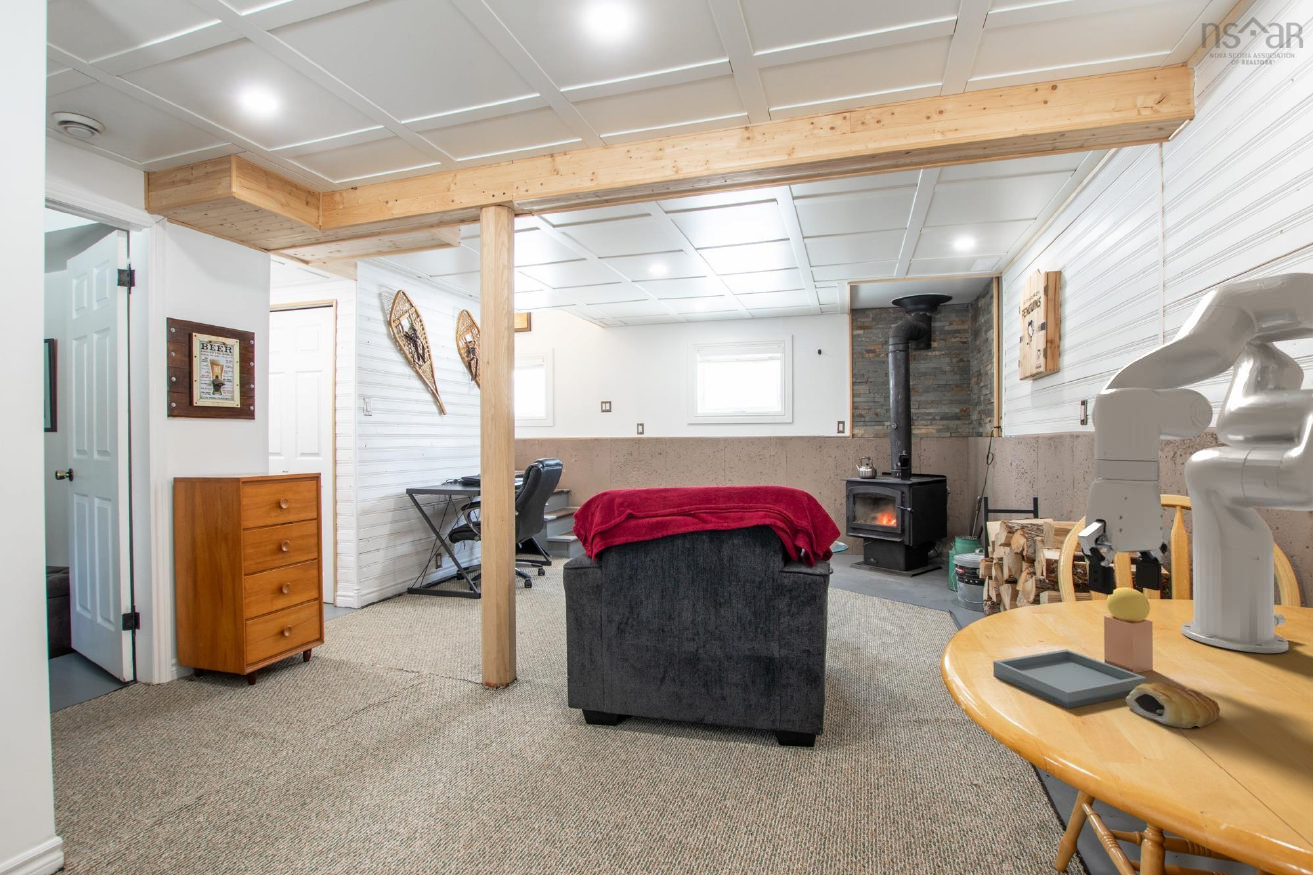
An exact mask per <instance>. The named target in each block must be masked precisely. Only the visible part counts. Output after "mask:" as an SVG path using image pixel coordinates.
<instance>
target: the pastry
mask: <svg viewBox="0 0 1313 875" xmlns="http://www.w3.org/2000/svg"><path fill="white" fill-rule="evenodd" d="M1125 703H1126V704H1127V706H1128V707H1129V708H1130V711H1132V712H1133V713H1135V714H1137V715H1140V716H1142V717H1144V718H1147V719H1150V720H1153V721H1155V722H1157V723H1160V724H1163V725H1164V726H1169V727H1174V728H1177V729H1191V728H1193V727H1196V726H1197V727H1198V728H1204V727H1205V726H1208V725H1210V724H1213V723H1214V721H1215V722H1216V721H1217V720H1218V719H1219V716H1220V711H1221V708H1220V706H1219V703H1218V702H1217V701H1216V700H1214V699H1212V698H1211V697H1209V696H1207V695H1205V694H1203V693H1202V692H1201V691H1198V690H1194V689H1191V688H1189V689H1188V688H1187V687H1183V686H1178V685H1171V684H1169V683H1166V682H1152V683H1147V684H1140V685H1139V686H1137V687H1135V689H1134V690H1133V691H1132V692H1130V694H1129V696H1127V697H1125Z"/></svg>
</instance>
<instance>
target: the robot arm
mask: <svg viewBox="0 0 1313 875" xmlns="http://www.w3.org/2000/svg"><path fill="white" fill-rule="evenodd" d="M1304 339H1313V273H1311V272H1289V273H1288V272H1287V273H1282V274H1277V275H1272V276H1265V277H1261V278H1254V279H1249V280H1244V281H1239V282H1235V283H1230V284H1225V285H1222V286H1220V287H1219V286H1218V287H1217V288H1214V289H1213V290H1211V291H1209V292H1208V293H1207V294H1206V295H1204V296H1203V297H1202V299H1201V300H1200V301H1199V303H1197V305H1196V307H1195V308H1194V310H1192V312H1191V314H1190V315H1189V317H1188V318H1187V319H1186V321H1185V322H1184V324H1182V326H1181V328H1180V329H1179V330H1178V332H1177V333H1176V335H1175V336H1174V337H1173V339H1172V340H1170V341H1168V342H1166V343H1165V344H1163V345H1161V346H1158V347H1157V348H1155V349H1153V350H1151V351H1150V352H1147V353H1146V354H1144V355H1143V356H1141V357H1140V358H1137V359H1136V360H1134V361H1132V362H1130V363H1129V364H1127V365H1126V366H1123V368H1121V369H1120V370H1119V371H1117V372H1116V373H1115V374H1114V375H1113V376H1112V377H1111V378H1110V380H1109V381H1108V382H1107V383H1106V384H1105V386H1104V387H1103V388H1102V390H1101V391H1100V392H1098V393H1097V395H1096V397H1095V400H1094V403H1093V407H1092V411H1091V420H1092V425H1093V427H1094V452H1093V453H1094V455H1093V456H1094V457H1093V458H1094V462H1093V463H1094V467H1093V470H1094V471H1093V472H1094V473H1093V481H1091V484H1090V486H1089V490H1088V494H1087V495H1088V496H1087V501H1086V509H1085V518H1084V530H1083V531H1081V532H1080V533H1078V535H1077V539H1078V542H1079V545H1080V547H1081V550H1080V551H1081V553H1082V555H1083V556H1084V557H1085V560H1084V561H1085V563H1086V564H1087V565H1088V566H1087V567H1088V575H1087V576H1088V577H1087V589H1088V590H1089V591H1091V592H1095V593H1099V594H1103V595H1107V596H1108V595H1112V594H1113V590H1114V579H1115V578H1114V577H1115V576H1114V573H1115V572H1114V571H1115V569H1114V566H1110V565H1111V564H1112V562H1113V560H1114V558H1115V557H1116V556H1117V554H1118V553H1119V554H1121V553H1122V554H1123V553H1125V554H1126V553H1135V554H1136V555H1137V556H1138V558H1139V559H1138V558H1137V559H1135V586H1136V587H1138V588H1143V589H1146V590H1152V591H1159V592H1160V591H1161V590H1162V567H1163V566H1162V564H1163V563H1164V562H1165V560H1166V559H1165V554H1166V552H1167V551H1168V545H1169V541H1170V538H1171V534H1172V533H1171V531H1170V530H1168V529H1167V528H1166V527H1164V524H1163V522H1164V521H1163V519H1164V518H1163V507H1162V499H1161V491H1160V486H1159V485H1160V480H1161V479H1160V474H1161V473H1160V470H1161V469H1160V467H1161V466H1160V463H1161V461H1160V460H1161V457H1160V456H1161V454H1160V453H1161V440H1184V439H1190V438H1194V437H1196V436H1200V435H1201V434H1202V433H1204V432H1205V431H1206V430H1207V429H1208V427H1210V425H1211V422H1212V421H1213V417H1214V416H1213V415H1214V411H1213V406H1212V404H1211V402H1210V401H1209V399H1208V398H1207V397H1206V396H1205V395H1204V394H1203V393H1201V392H1198V391H1196V390H1194V389H1190V388H1182V387H1187V386H1190V385H1194V384H1197V383H1200V382H1204V381H1206V380H1210V379H1211V378H1214V377H1218V376H1220V375H1222V374H1224V373H1226V372H1227V371H1229V370H1230V369H1231V368H1232V367H1233V368H1232V369H1233V373H1232V378H1231V380H1230V383H1229V386H1228V388H1227V391H1226V395H1225V397H1224V399H1223V402H1222V405H1221V407H1220V410H1219V412H1218V416H1217V419H1216V423H1215V434H1216V436H1217V438H1218V439H1219V441H1221V442H1222V443H1224V444H1225V445H1227V446H1215V447H1208V448H1204V449H1201V450H1198V451H1196V452H1194V453H1193V454H1192V455H1190V457H1188V459H1187V461H1186V463H1185V466H1184V471H1183V472H1184V480H1185V485H1186V489H1187V492H1188V497H1189V503H1190V508H1191V517H1192V570H1193V571H1192V580H1193V581H1192V584H1193V586H1192V589H1193V590H1192V591H1193V592H1192V594H1193V595H1192V596H1193V598H1192V599H1193V600H1192V602H1193V604H1192V606H1193V614H1192V615H1193V621H1188V622H1185V623H1182V624H1181V626H1180V628H1181V634H1183V635H1184V636H1186V637H1188V638H1189V639H1191V640H1194V641H1196V642H1200V643H1202V644H1206V645H1210V646H1215V647H1218V648H1223V649H1227V650H1234V651H1239V652H1247V653H1257V654H1280V653H1285V652H1287V651H1288V650H1289V642H1288V640H1286V639H1285V638H1284V637H1282V636H1279V635H1277V634H1276V633H1275V627H1278V626H1283V625H1284V624H1286V617H1285V616H1283V615H1282V614H1281V613H1277V612H1276V613H1275V568H1274V567H1275V566H1274V565H1275V561H1274V560H1275V558H1274V557H1275V556H1274V555H1275V551H1274V550H1275V546H1274V545H1275V540H1274V536H1273V532H1272V530H1271V528H1270V527H1269V525H1268V523H1267V522H1266V521H1265V519H1264V518H1262V516H1261V515H1260V514H1259V513H1258V512H1257V510H1256V509H1258V508H1261V509H1271V510H1272V509H1274V510H1282V511H1283V510H1284V511H1286V510H1287V511H1299V512H1313V388H1311V389H1310V388H1307V389H1301V388H1302V386H1303V383H1304V379H1305V373H1304V370H1303V368H1302V367H1301V365H1300V364H1299V363H1298V362H1297V361H1296V359H1294V358H1293V357H1291V356H1290V355H1289V354H1288V353H1286V352H1284V351H1282V350H1281V349H1279V348H1278V347H1277V346H1276V345H1275V344H1274V343H1277V342H1285V341H1296V340H1304ZM1255 508H1256V509H1255ZM1102 552H1104V554H1103V553H1102Z"/></svg>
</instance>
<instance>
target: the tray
mask: <svg viewBox="0 0 1313 875" xmlns="http://www.w3.org/2000/svg"><path fill="white" fill-rule="evenodd" d="M992 662H993V663H992V664H993V666H992V668H993V676H994V677H996V678H999V679H1000V680H1003V681H1005V682H1008V683H1009V684H1012V685H1014V686H1016V687H1018V688H1021V689H1023V690H1025V691H1027V692H1029V693H1032V694H1034V695H1037V696H1038V697H1040V698H1043V699H1045V700H1048V701H1049V700H1050V701H1049V702H1052V703H1054V704H1057V705H1059V706H1061V707H1063V708H1065V709H1067V710H1068V709H1069V710H1070V709H1075V708H1079V707H1082V706H1083V707H1085V706H1089V705H1095V704H1099V703H1103V702H1107V701H1112V700H1119V699H1124V698H1126V697H1127V696H1129V694H1130V692H1132V691H1133V690H1134V689H1135V687H1137V686H1139V685H1140V684H1148V682H1147V681H1148V680H1147V677H1146V676H1143V675H1140V674H1137V673H1132V672H1129V671H1126V670H1124V669H1121V668H1118V667H1115V666H1112V665H1109V664H1107V663H1105V661H1104V662H1103V661H1101V660H1098V659H1095V658H1092V657H1090V656H1089V657H1088V656H1087V655H1084V654H1081V653H1078V652H1075V651H1072V650H1070V649H1061V650H1060V649H1059V650H1055V651H1048V652H1042V653H1037V654H1030V655H1025V656H1018V657H1012V658H1006V659H1000V660H994V661H992Z"/></svg>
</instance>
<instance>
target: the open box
mask: <svg viewBox="0 0 1313 875" xmlns="http://www.w3.org/2000/svg"><path fill="white" fill-rule="evenodd" d="M1103 629H1104V630H1103V631H1104V632H1103V635H1104V636H1103V637H1104V638H1103V639H1104V640H1103V644H1104V646H1103V647H1104V648H1103V649H1104V654H1103V655H1104V659H1103V660H1104V663H1107V664H1109V665H1112V666H1115V667H1118V668H1121V669H1124V670H1126V671H1129V672H1132V673H1135V674H1137V673H1143V672H1148V671H1153V670H1154V667H1153V665H1154V661H1153V660H1154V655H1153V654H1154V653H1153V652H1154V650H1153V644H1154V643H1153V641H1154V639H1153V621H1152V620H1149V619H1146V618H1145V619H1144V620H1142V621H1140V622H1134V623H1130V622H1127V621H1123V620H1119V619H1117V618H1115V617H1114V616H1113V615H1112V614H1111V615H1105V616H1103Z"/></svg>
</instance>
